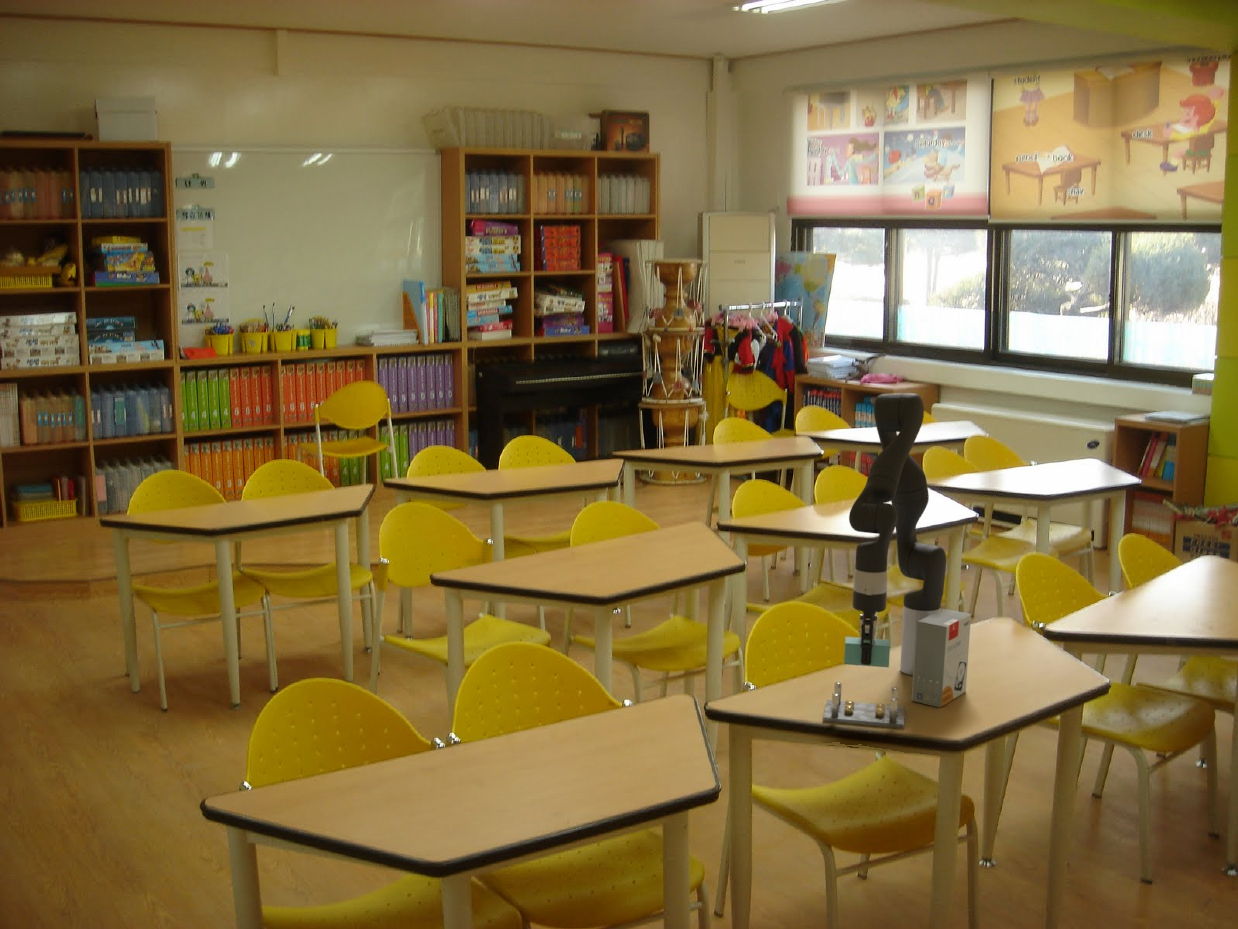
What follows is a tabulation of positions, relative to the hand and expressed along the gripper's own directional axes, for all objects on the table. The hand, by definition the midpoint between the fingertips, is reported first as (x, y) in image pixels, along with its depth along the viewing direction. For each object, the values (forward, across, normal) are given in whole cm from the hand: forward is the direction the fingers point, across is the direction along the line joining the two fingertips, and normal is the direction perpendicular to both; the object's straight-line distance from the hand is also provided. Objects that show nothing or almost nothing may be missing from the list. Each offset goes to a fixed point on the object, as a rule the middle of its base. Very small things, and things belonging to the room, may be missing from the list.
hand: (866, 660), depth 299 cm
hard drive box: (+14, -18, +17) cm, 28 cm away
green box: (+1, 0, 0) cm, 1 cm away
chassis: (+13, 0, 0) cm, 13 cm away
